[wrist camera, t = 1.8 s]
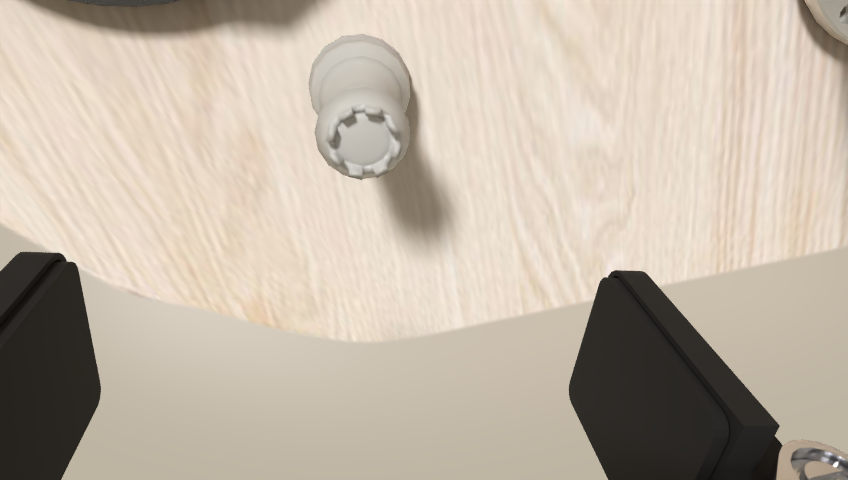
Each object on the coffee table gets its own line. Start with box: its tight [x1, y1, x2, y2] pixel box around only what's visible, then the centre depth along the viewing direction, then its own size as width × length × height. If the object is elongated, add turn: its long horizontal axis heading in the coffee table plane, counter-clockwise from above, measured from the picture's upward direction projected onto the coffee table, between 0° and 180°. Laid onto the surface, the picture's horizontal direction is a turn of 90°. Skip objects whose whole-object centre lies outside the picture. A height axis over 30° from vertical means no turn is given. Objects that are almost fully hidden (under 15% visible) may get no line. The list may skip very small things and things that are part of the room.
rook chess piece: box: [309, 34, 411, 180], centre depth 23 cm, size 4×4×8 cm
